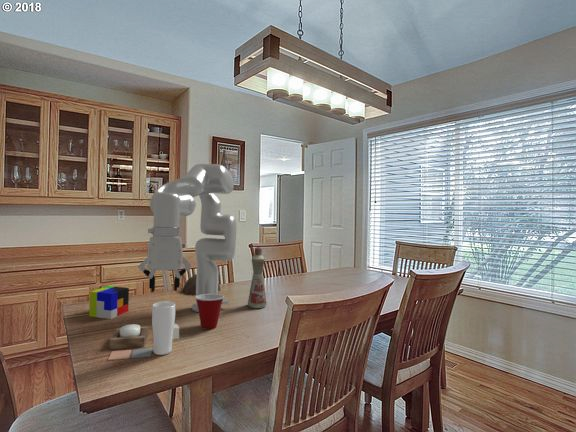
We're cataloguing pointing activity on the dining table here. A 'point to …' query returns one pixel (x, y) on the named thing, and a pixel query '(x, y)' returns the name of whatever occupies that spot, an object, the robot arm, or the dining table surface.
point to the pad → (120, 355)
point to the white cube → (176, 332)
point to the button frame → (129, 339)
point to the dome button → (130, 330)
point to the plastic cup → (209, 309)
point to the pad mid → (141, 353)
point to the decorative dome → (192, 286)
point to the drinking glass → (163, 326)
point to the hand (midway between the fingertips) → (164, 289)
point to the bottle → (257, 282)
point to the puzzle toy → (108, 302)
